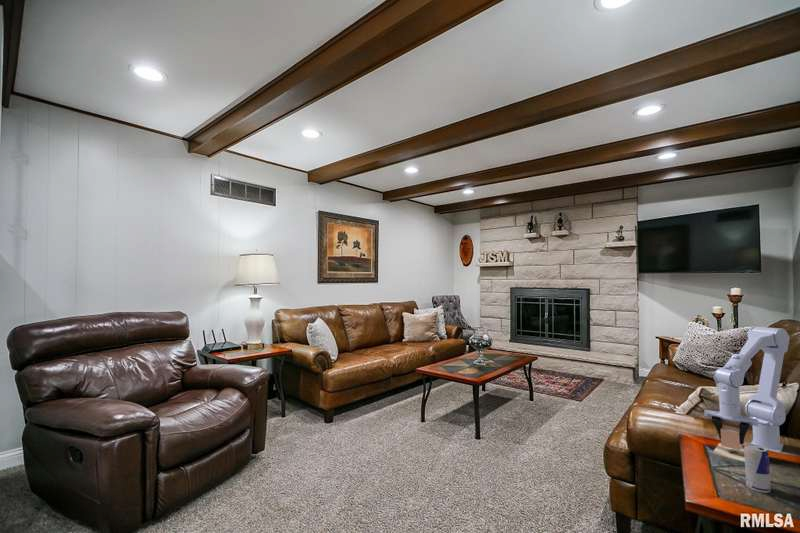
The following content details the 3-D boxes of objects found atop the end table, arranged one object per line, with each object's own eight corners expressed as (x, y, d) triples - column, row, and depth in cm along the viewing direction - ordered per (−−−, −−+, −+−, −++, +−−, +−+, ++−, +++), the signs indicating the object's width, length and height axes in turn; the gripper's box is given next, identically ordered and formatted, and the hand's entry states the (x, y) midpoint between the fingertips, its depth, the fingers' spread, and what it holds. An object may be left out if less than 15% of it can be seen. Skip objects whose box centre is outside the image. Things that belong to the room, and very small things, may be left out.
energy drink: (775, 494, 110) (773, 452, 110) (754, 492, 111) (752, 450, 111) (762, 484, 115) (760, 444, 115) (741, 483, 116) (739, 443, 116)
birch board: (719, 443, 144) (719, 442, 144) (751, 451, 137) (751, 450, 137) (712, 454, 135) (711, 452, 135) (745, 462, 128) (745, 461, 128)
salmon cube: (724, 441, 140) (723, 425, 140) (742, 446, 136) (741, 429, 136) (721, 445, 136) (720, 428, 137) (739, 450, 133) (739, 432, 133)
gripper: (701, 400, 140) (703, 438, 139) (755, 410, 129) (757, 451, 128) (706, 396, 144) (708, 432, 144) (758, 405, 133) (760, 444, 133)
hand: (731, 440), depth 136 cm, fingers closed on salmon cube, 5 cm apart
